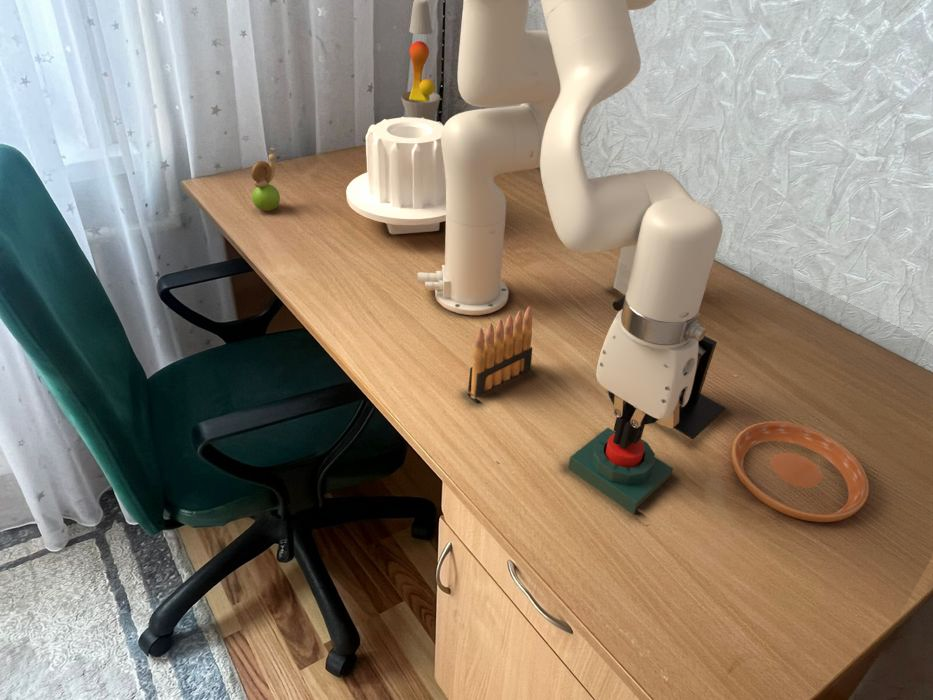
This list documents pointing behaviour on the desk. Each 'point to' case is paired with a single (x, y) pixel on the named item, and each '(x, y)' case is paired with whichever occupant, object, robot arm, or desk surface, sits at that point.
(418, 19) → the lava lamp
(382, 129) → the ribbed cylinder on disc
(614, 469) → the button block
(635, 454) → the button
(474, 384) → the ammunition clip
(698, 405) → the stand
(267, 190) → the snail figurine
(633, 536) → the desk surface
